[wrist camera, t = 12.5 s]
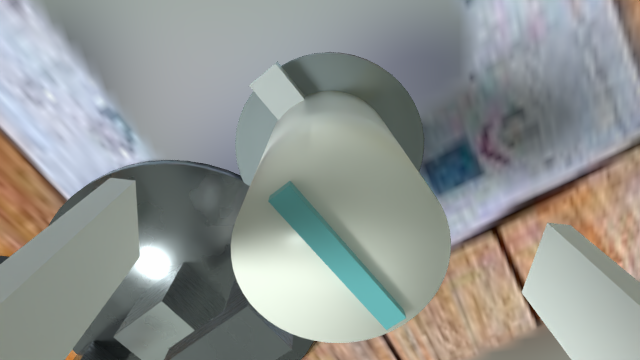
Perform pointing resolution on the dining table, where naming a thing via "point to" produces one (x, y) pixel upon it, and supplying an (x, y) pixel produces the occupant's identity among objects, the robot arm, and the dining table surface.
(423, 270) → the white teal-striped cylinder
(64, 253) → the robot arm
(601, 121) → the dining table surface
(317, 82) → the coaster
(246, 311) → the grey hook stand
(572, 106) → the dining table surface
